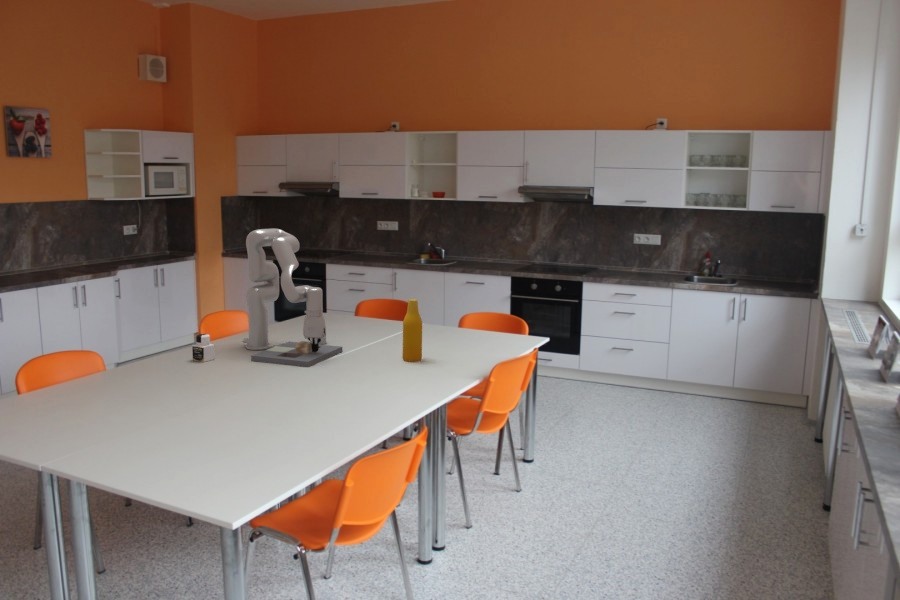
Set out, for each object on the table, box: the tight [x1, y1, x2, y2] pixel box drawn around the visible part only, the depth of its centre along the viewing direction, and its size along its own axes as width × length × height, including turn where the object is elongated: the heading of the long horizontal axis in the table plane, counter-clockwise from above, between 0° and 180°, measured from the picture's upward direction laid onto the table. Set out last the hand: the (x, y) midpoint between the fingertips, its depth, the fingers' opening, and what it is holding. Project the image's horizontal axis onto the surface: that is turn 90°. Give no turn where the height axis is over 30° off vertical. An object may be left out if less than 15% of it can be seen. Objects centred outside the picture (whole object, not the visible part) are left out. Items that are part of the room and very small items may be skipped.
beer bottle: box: [402, 298, 423, 363], centre depth 365 cm, size 9×9×29 cm
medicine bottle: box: [191, 333, 216, 363], centre depth 358 cm, size 7×7×12 cm
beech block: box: [296, 340, 312, 354], centre depth 367 cm, size 6×6×4 cm
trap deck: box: [250, 341, 343, 368], centre depth 370 cm, size 30×34×2 cm
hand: (315, 351), depth 366 cm, fingers closed
